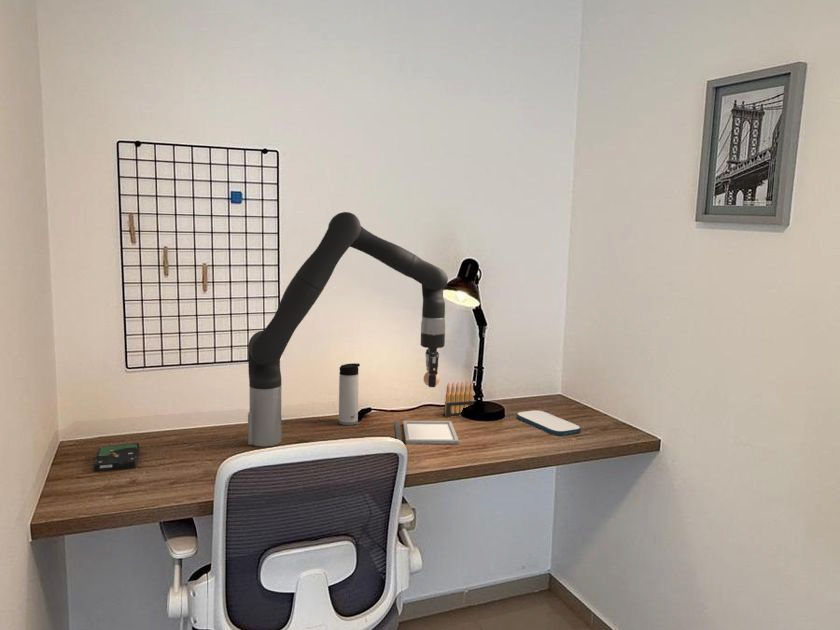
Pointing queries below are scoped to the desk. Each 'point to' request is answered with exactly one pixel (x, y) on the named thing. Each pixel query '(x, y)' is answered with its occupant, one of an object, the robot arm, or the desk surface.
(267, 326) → the robot arm
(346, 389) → the travel mug
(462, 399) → the ammunition clip
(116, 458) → the disk drive
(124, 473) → the desk surface
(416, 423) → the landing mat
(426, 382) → the rubber ball
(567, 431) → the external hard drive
